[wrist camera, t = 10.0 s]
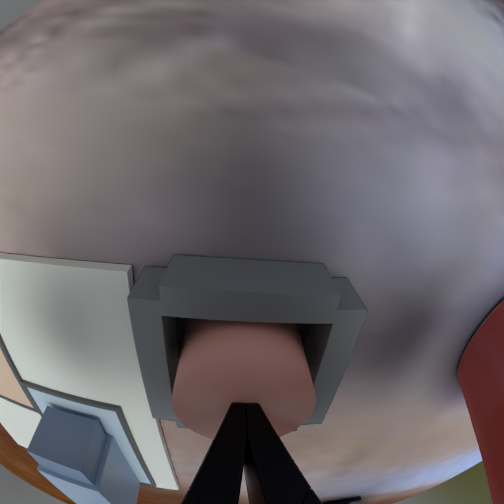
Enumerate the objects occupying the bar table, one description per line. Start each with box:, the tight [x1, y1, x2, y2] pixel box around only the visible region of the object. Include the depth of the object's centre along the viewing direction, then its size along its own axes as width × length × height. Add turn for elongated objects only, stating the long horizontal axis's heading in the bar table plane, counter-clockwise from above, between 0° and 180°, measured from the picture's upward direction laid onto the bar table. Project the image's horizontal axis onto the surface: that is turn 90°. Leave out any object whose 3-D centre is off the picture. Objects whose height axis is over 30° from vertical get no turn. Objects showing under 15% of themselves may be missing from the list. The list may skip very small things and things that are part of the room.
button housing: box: [127, 255, 367, 431], centre depth 10 cm, size 7×7×2 cm
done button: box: [171, 318, 316, 439], centre depth 9 cm, size 4×4×3 cm
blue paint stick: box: [27, 406, 140, 504], centre depth 13 cm, size 10×4×4 cm, turn 175°
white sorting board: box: [0, 253, 179, 490], centre depth 13 cm, size 20×16×1 cm
